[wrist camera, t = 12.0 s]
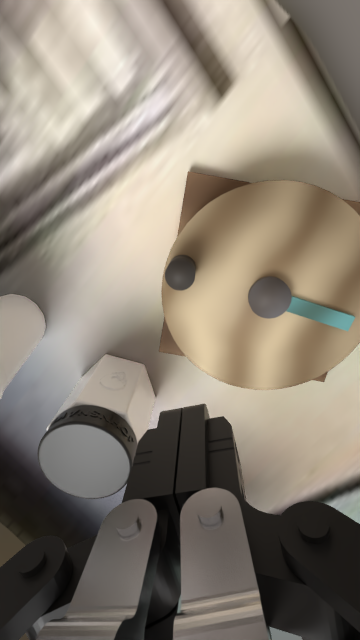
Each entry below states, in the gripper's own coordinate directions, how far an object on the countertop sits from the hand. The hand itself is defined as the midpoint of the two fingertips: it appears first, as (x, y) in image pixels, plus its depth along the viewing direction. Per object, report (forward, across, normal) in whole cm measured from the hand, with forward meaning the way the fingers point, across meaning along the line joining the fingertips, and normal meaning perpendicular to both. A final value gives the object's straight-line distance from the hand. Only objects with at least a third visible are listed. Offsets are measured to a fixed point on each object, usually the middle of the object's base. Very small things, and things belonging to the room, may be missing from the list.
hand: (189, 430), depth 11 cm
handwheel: (+21, -6, +2) cm, 22 cm away
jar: (+25, +12, +10) cm, 30 cm away
